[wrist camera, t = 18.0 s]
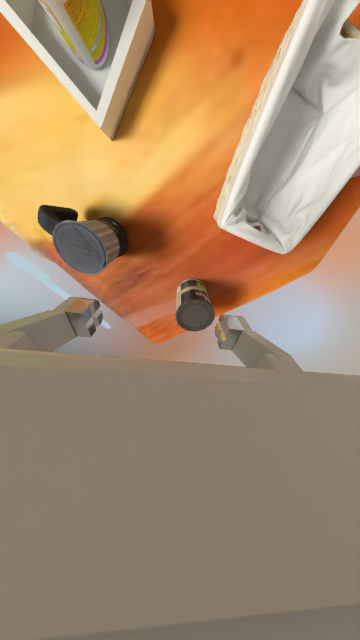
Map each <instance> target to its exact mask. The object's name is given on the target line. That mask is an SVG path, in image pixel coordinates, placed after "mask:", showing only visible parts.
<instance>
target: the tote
mask: <svg viewBox="0 0 360 640" xmlns="http://www.w3.org/2000/svg"><path fill="white" fill-rule="evenodd" d="M101 1H102V3H103V6H104V10H105V13H106V18H107V23H108V30H109V49H108V54H107V58H106V60H105V62H104V64H103V65H102V66H101V67H100V68H98V69H90V68H88V67H86V66H85V65H83V64H82V63H81V62H80V61H79V60H78V59H77V57H76V56H75V55H74V53H73V52H72V51H71V49H70V48H69V46H68V45H67V43H66V42H65V40H64V39H63V37H62V36H61V34H60V33H59V31H58V29H57V28H56V26H55V25H54V23H53V22H52V20H51V19H50V17H49V16H48V14H47V13H46V11H45V10H44V8H43V7H42V5H41V4H40V2H39V1H38V0H0V12H1V13H2V14H3V15H4V16H5V18H6V19H7V20H8V21H9V22H10V23H11V25H12V26H13V27H14V28H15V29H16V30H17V32H18V33H19V34H20V35H21V36H22V37H23V39H24V40H25V41H26V42H27V43H28V44H29V46H30V47H31V48H32V49H33V50H34V51H35V53H36V54H37V55H38V56H39V57H40V58H41V60H42V61H43V62H44V63H45V64H46V65H47V67H48V68H49V69H50V70H51V71H52V72H53V74H54V75H55V76H56V77H57V78H58V79H59V81H60V82H61V83H62V84H63V85H64V86H65V88H66V89H67V90H68V91H69V92H70V93H71V95H72V96H73V97H74V98H75V99H76V100H77V102H78V103H79V104H80V105H81V106H82V107H83V109H84V110H85V111H86V112H87V113H88V115H89V116H90V117H91V118H92V119H93V120H94V122H95V123H96V124H97V125H98V126H99V127H100V129H101V130H102V131H103V132H104V133H105V134H106V135H107V136H108V137H109V138H110V139H111V140H113V138H114V135H115V133H116V130H117V128H118V125H119V123H120V120H121V118H122V115H123V113H124V110H125V108H126V105H127V103H128V100H129V98H130V95H131V93H132V90H133V88H134V85H135V83H136V80H137V78H138V75H139V73H140V70H141V68H142V65H143V63H144V60H145V58H146V55H147V53H148V50H149V48H150V45H151V43H152V40H153V38H154V35H155V26H154V19H153V11H152V3H151V0H101Z"/></svg>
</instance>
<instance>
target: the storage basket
mask: <svg viewBox="0 0 360 640" xmlns="http://www.w3.org/2000/svg"><path fill="white" fill-rule="evenodd" d="M359 2H360V0H303V1H302V3H301V6H300V8H299V9H298V11H297V12H296V14H295V17H294V19H293V22H292V23H291V25H290V27H289V29H288V31H287V32H286V34H285V36H284V38H283V41H282V42H281V44H280V46H279V48H278V51H277V52H276V55H275V57H274V59H273V60H272V63H271V65H270V68H269V70H268V72H267V74H266V76H265V77H264V80H263V82H262V85H261V88H260V91H259V94H258V97H257V99H256V101H255V103H254V106H253V109H252V112H251V115H250V117H249V119H248V121H247V123H246V125H245V127H244V130H243V132H242V135H241V139H240V142H239V144H238V146H237V148H236V151H235V153H234V156H233V159H232V163H231V165H230V167H229V170H228V173H227V176H226V180H225V182H224V185H223V188H222V191H221V194H220V196H219V198H218V200H217V205H216V210H215V213H214V215H213V219H215V220H216V221H217V224H218V226H219V227H220V228H222V229H224V230H226V231H228V232H230V233H232V234H234V235H236V236H238V237H240V238H243V239H245V240H247V241H249V242H252V243H254V244H257V245H259V246H261V247H263V248H266V249H268V250H271V251H273V252H276V253H280V254H286V253H288V252H290V251H291V250H292V249H294V248H295V247H296V246H297V244H298V243H299V242H300V241H301V240H302V239H303V237H304V236H305V235H306V234H307V233H308V231H309V230H310V229H311V228H312V226H313V225H314V224H315V223H316V222H317V220H318V219H319V218H320V217H321V215H322V214H323V213H324V212H325V210H326V209H327V208H328V206H329V205H330V204H331V203H332V201H333V200H334V199H335V197H336V196H337V195H338V193H339V192H340V191H341V189H342V188H343V187H344V186H345V184H346V183H347V182H348V180H349V179H350V178H351V177H352V175H353V174H354V173H355V171H356V170H357V169H358V168H359V166H360V30H359V29H357V28H356V27H355V26H354V25H353V24H351V22H350V21H349V19H348V17H349V16H350V14H351V13H352V12H353V11H354V9H355V8H356V6H357V5H358V4H359Z"/></svg>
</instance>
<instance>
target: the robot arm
mask: <svg viewBox="0 0 360 640" xmlns="http://www.w3.org/2000/svg"><path fill="white" fill-rule="evenodd" d="M357 176H360V166H359V168H358V169H357V170H356V171H355V173H354V174H353V175H352V177H351V178H353V177H357ZM99 307H100V303H99V301H98V300H93V299H86V298H78V297H69V298H68V299H67V300H65V301H64V302H63V303H61V304H60V305H59V306H58V307H56V308H55V309H54V310H52V311H51V310H49V311H46V312H42V313H39V314H35V315H32V316H29V317H26V318H22V319H19V320H15V321H12V322H9V323H6V324H2V325H0V640H360V376H356V375H343V374H330V373H317V372H303V371H302V369H301V368H300V367H299V366H298V364H297V363H296V362H295V361H294V359H293V358H292V357H291V355H289V354H288V353H286V352H285V351H283V350H282V349H280V348H279V347H277V346H276V345H274V344H273V343H271V342H270V341H268V340H267V339H265V338H264V337H262V336H261V335H259V334H258V333H256V332H253V331H252V330H251V328H250V326H249V325H248V323H247V322H246V320H245V319H244V317H242V316H232V315H222V314H221V315H220V317H219V323H217V324H216V327H215V335H216V337H217V338H218V341H217V342H218V345H219V348H220V349H227V350H232V352H233V353H234V354H235V355H236V356H237V357H238V358H239V359H240V360H241V362H242V363H243V364H244V365H245V366H246V367H238V366H225V365H212V364H199V363H187V362H174V361H161V360H148V359H135V358H122V357H108V356H96V355H83V354H69V353H57V352H52V351H54V350H56V349H57V348H59V347H61V346H62V345H64V344H65V343H67V342H69V341H70V340H72V339H74V338H75V337H76V336H81V337H91V336H92V335H93V334H94V332H95V331H96V327H97V326H99V325H100V324H101V322H102V319H103V316H102V311H100V310H99Z"/></svg>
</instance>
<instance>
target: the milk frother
mask: <svg viewBox="0 0 360 640" xmlns="http://www.w3.org/2000/svg"><path fill="white" fill-rule="evenodd" d="M77 217H78V213H77V212H76V211H75V210H73V209H71V208H64V207H56V206H49V205H42V206H40V207H39V211H38V222H39V224H40V226H41V227H42V228H43V229H44V230H45V231H47V232H48V233H49V234H51V235H52V236H53V243H54V246H55V249H56V250H57V252H58V254H59V255H60V257H61V258H62V259H63V260H64V262H66V263H67V264H68V265H69V266H70V267H72V268H73V269H75V270H77V271H79V272H81V273H85V274H97V273H99V272H101V271H102V270H103V269H104V268H106V267H107V264H109V263H110V262H111V261H113V260H114V259H115V258H117V257H119V256H122V255H123V254H124V253H125V252H126V250H127V248H128V238H127V234H126V232H125V230H124V229H123V227H122V226H121V225H120V224H119V223H118V222H116V221H115V220H113V219H111V218H107V217H102V218H99V219H97V220H90V221H81V222H77Z"/></svg>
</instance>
